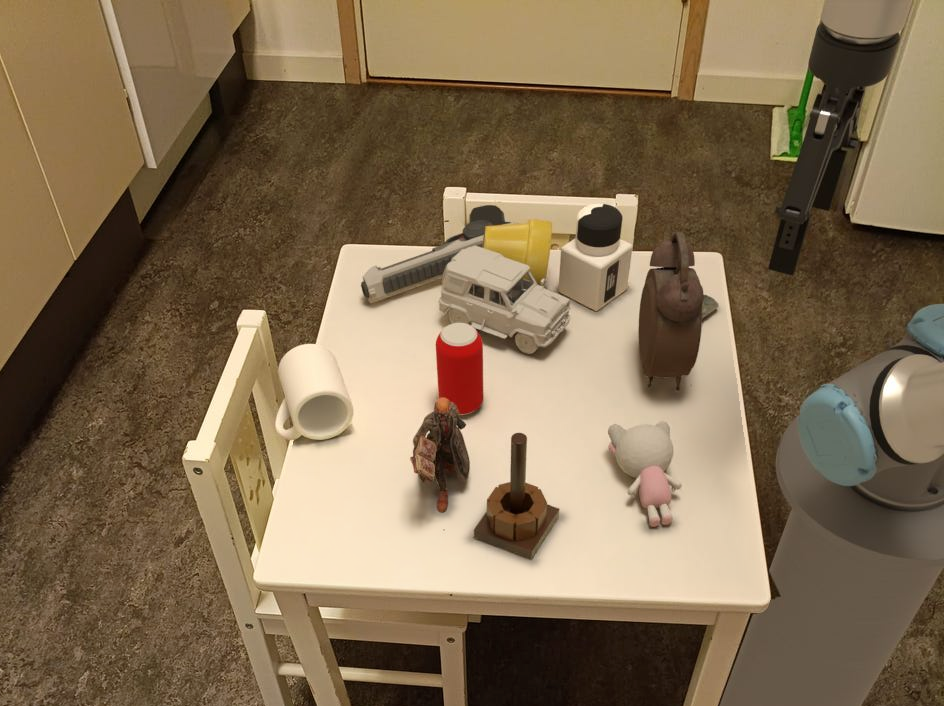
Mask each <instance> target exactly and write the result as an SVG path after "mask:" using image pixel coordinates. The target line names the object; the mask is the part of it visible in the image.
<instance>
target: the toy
mask: <svg viewBox="0 0 944 706" xmlns="http://www.w3.org/2000/svg"><path fill="white" fill-rule="evenodd" d="M607 435H608V436H609V439H610V442H609V444H608V450H609V451H610V453H611V454H612V455H615V459H616V462H617V465H618V467H619V468H620V469H621V470H622V471H623V473H625V474H626V475H628V476H629V477H632V478H635V480H634V482H633V483H632V484H631V485H630V486H629V488H628V489H627V495H628V496H629V497H631V498H635V497H636V492H637V490H638V496H639V497H638V498H639V500H640V504H641V506H642V507H643V508H644V509H647V515H648V520H649V526H650V527H653V528H654V527H655V528H656V527H657V526H659V525H660V524H662V525H663V526H668V525H670V524H671V523H672V522H673V515H672V513H671V510H670V508H669V505H670V504H671V502H672V493H675V492H676V490H677V491H679V490H681V488H682V483H681V482H680V480H678V479H676V478H674V477H673V476H671V475H669V474H667V473H665V471H666V470H667V469H668V468H669V466H670V465H671V462H672V460H673V457H674V446H673V442H672V439H671V427H670V424H669V423H668V422H666V421H659V422H658V423H656V424H655V425H653V424H647V423H645V424H644V423H643V424H638V425H633V426H632V427H630V428H628V429H627V430H626V429H625V428H623V427H622V426H621V425H619V424H617V423H613V424H612V425H610V426H609V427H608V429H607ZM657 509H659V512H660V516H661V518H660V516H659V513H658V511H657Z"/></svg>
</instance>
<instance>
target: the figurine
mask: <svg viewBox="0 0 944 706" xmlns="http://www.w3.org/2000/svg"><path fill="white" fill-rule="evenodd" d="M433 409H434V410H433V411H431V412H429V413H428V414H427V415H426V416H425V417H424V419H423V421H422V423H421V425H420V427H419V428H418V429H417V432H416V433H415V435H414V436H413V439H412V444H413V450H412V456H410V457H409V460H410V462H411V464H412V467H413V473H414V474H418V477H419V480H420V482H421V484H422V485H423V486H425V485H426V484H427V483H430V484H432V483H433V481H434V480H435V481H436V484H437V486H438V488H439V491H438V496H437V501H436V509H437V511H439V512H440V513H443V512H446V510H447V509H448V506H449V490H448V485H447V483H448V482H447V479H446V477H447V476H446V475H445V473H446V474H448V475H453V474H454V473H455V472H456V473H457V475H458V477H459V479H460V480H461V481H464V482H465V481H468V477H469V475H470V471H471V470H470V469H471V468H470V467H471V466H470V465H471V462H470V456H469V453H468V449H467V446H466V442H465V438H464V436H463V432H462V431H461V430H463V429H465V428H466V426H467V423H466V422H465V421H464V420H463V419H461V418H460V416H459V415H458V414H459V410H458V409H457V406H456V405H455V404H454V403H453V402H450V401H449V400H448V399H447V398H443V397H442V398H439V397H438V398H437V399H436V401H435V402H434V407H433Z"/></svg>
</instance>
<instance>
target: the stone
mask: <svg viewBox="0 0 944 706" xmlns="http://www.w3.org/2000/svg"><path fill="white" fill-rule="evenodd" d="M718 308H719V303H718V302H717V301H716V300H715V299H714V298H713V297H711V296H709V295H708V294H704V299H703V303H702V319H703V318H705V317H707V316H709V315H711V313H712V312H714V311H715V310H716V309H718Z"/></svg>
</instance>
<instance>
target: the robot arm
mask: <svg viewBox="0 0 944 706" xmlns="http://www.w3.org/2000/svg"><path fill="white" fill-rule="evenodd" d="M913 1H914V0H824V1H823V4H822V8H821V13H820V20H821V23H819V24H818V25H817V27H816V29H815V33H814V38H813V41H812V46H811V50H810V54H809V58H808V63H807V64H808V69H809V71H810V73H811V74H812V75H813V76H814V77H815V78H816V79H819V80H820V81H821V82H822V83H823V86H822V89H821V92H820V93H817V95H816V96H815V99H814V101H813V105H812V110H811V111H810V113H809V116H808V117H809V120H808V123H807V127H806V131H805V133H804V134H805V135H804V137H803V140H802V143H801V147H800V150H799V152H798V155H797V158H796V162H795V165H794V168H793V171H792V174H791V177H790V180H789V182H788V185H787V189H786V191H785V193H784V194H785V195H784V197H783V201H782V204H781V206H779V205H776V207H775V210H774V214H775V215H777V219H779V220H780V221H779V225H778V229H777V232H776V236H775V241H774V245H773V249H772V252H771V256H770V260H769V264H768V267H767V270H770V271H772V272H773V271H774V272H777V273H781V274H784V275H787V276H791V277H793V276H794V274H795V273H796V269H797V266H798V262H799V259H800V255H801V253H802V249H803V245H804V242H805V238H806V234H807V231H808V229H809V224H810V220H811V217H812V214H811V210H812V208H814V209H817V210H822V211H826V212H830V209H831V208H832V204H833V201H834V198H835V194H836V191H837V188H838V184H839V181H840V179H841V176H842V175H841V174H842V171H843V168H844V164H845V162H846V158H847V154H848V150H844V149H849V150H854V151H855V150H856V147H857V145H858V142H859V137H855V136H853V135H854V134H855V133H856V132H857V130H858V127H859V126H858V125H859V124H858V123H859V119H860V115H861V111H862V107H863V102H864V98H865V94H866V89H867V87H871V86H874V85H877V84H879V83H880V82H882V81H884V80H885V79H886V78H887V76H889V74H890V72H891V68H892V65H893V62H894V58H895V55H896V52H897V48H898V46H899V42H900V39H901V36H900V33H899V32H900V31H902V30H903V29H904V28H905V25H906V22H907V19H908V16H909V13H910V11H911V7H912V4H913ZM799 414H800V415H799ZM799 414H798V415H799V417H798V434H799V439H800V442H801V445H802V448H803V450H804V452H805V454H806V456H807V458H808V459H809V461H810V462H811V464H812V465H813V466H814V467H815V469H817V470H818V471H820V473H821V474H822V475H823V476H824V477H825V478H827V479H828V480H830V481H832V482H834V483H836V484H839V485H843V486H850V487H851V488H852V489H853V490H854V491H855V492H857V493H858V494H859V495H861V496H862V497H863V498H865V499H867V500H869V501H870V502H872V503H875V504H877V505H879V506H882V507H885V508H888V509H893V510H898V511H906V512H918V511H926V510H930V509H934V508H936V507H939V506H941V505H943V504H944V303H935V304H930V305H927V306H923V307H922V308H920V309H918V310H917V311H916V312H915V313H914V315H913V317H912V318H911V320H910V321H908V323H907V326H906V332H905V334H904V335H903V337H902V338H901V340H900V341H899V342H897V343H895V344H894V345H893V346H891V347H889V348H887V349H885V350H884V351H882V352H880V353H878V354H876V355H875V356H873V357H871V358H870V359H868V360H866V361H864V362H862V363H861V364H858V365H857V366H856V367H854V368H852V369H851V370H849V371H847V372H845V373H843V374H841V375H840V376H838V377H836V378H834V379H833V380H831V381H829V382H827V383H823V384H822V385H820V386H819V387H818V388H817V389H816V390H815V391H814V392H812V393H811V394H810V395H808V396H807V397H806V398H805V400H803V402H802V404H801V405H800V408H799Z"/></svg>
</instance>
